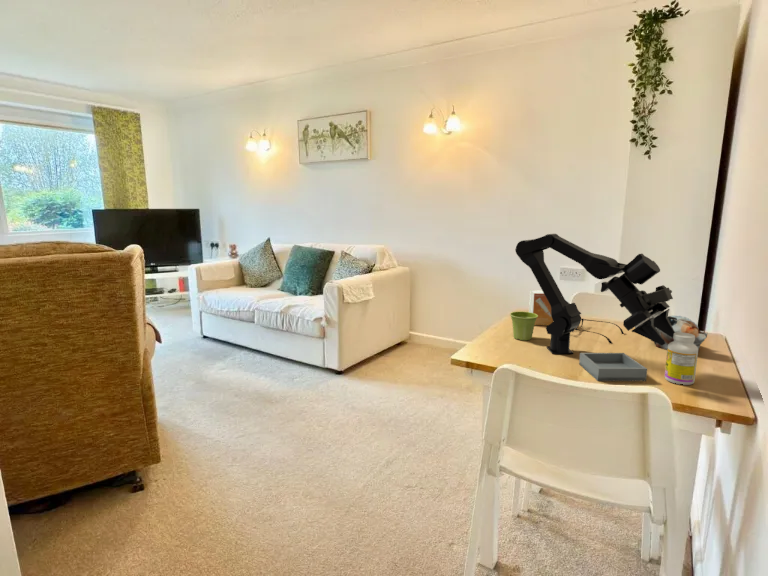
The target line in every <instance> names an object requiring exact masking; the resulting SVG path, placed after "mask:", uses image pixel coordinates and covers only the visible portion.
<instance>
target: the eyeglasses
mask: <svg viewBox="0 0 768 576" xmlns="http://www.w3.org/2000/svg"><path fill="white" fill-rule="evenodd" d="M584 321H590V322H600V323H604V321H602V320H594V319H593V320H592V319H585V318H581V326H580V328H581V327H582V328H583V326H584V325H583V323H584ZM605 323H607V324H612V325H615V326H616V327H618V329H619V330H620V333H621V335H622V334H624V335H625V333H624V330H623V329H622V328H621V327H620V326H619V325H618V324H616V323H614V322H610V321H609V322H608V321H605ZM574 331H581V332H588V333H591V331H590V330H583V329H579V328H578V326H577V327H576V328H575V330H574ZM592 333H593V334H598V335H601V336H602V337H604V338H605V339H606V340H607V341H608V344H613V342H612V340H611V339H610V338H609V337H607V336H606V335H604V334H601V333H599V332H595V331H592Z"/></svg>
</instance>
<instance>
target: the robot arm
mask: <svg viewBox="0 0 768 576" xmlns="http://www.w3.org/2000/svg"><path fill="white" fill-rule="evenodd" d="M548 249H552V250H553V251H555V252H558V253H559V254H561V255H563V256H565V257H566V258H568V259H570V260H572V261H573V262H576V263H577V264H579V265H581V266H582V267H583V268H584V270H585V271H586V272H588V273H589V274H590V275H591V276H592V277H594V278H595V279H597V280H605V279H609V280H608V281H603V282H601V288H600V292H601V293H603V292H607V291H610V292H611V293H612V294H613V296H614V297H615V299H617V300H618V301H619V302H620V304H619V307H621V308H624V309H626V310H627V312H629V314H631V315H630V316H628V317H626V318H625V319H624V320H623V322H622V323H623V327H624V328H625V329H626V330H627V331H631V332H632V333H635V334H638V335H639V336H641V337H644V338H645V339H648V340H650V341H651V340H652V341H651V342H653V341H654V342H656V343H658V344H660V345H664V344H665V341H664V340H663V338H662V336H661V335H660V334H659V332H658V331H657V329H656V328H658V329H659V330H661V331H662V332H664V333H665V334H667V335H669V336H670V337H672V338H673V335H674V333H675V331H674V329H673V327H672V325H671V323H670V321H669V319H668V316H669V313H670V307H671V306H670V304H668V303H667V302H669V301H670V300H673V299H674V298H673V295H672V293H673V290H671V289H670V288H669V287H666V286H665V285H664V284H663V285H659V286H657V287H655V290H654V291H651V292H649V293H647V291H645V290H640V289H639V288H638V287H637V286H636V285H637V284H639V285H644V284H645V283H646V282H648V281H649V280H650V279H652V278H653V277H655V276H656V275H658V274H659V273H661V269H660V267H659V265H658V264H657V262H655V261H654V260H652V259H650V258H649V257H648V256H645V255H644V253H638V254H637V255H635V257H634V258H633V259H631V261H629V262H628V263H627V264H625V263H621V262H618V260H616V259H615V258H614V257H613V258H612V257H610V256H607V255H602V254H597V253H593V252H591V251H589V250H587V249H585V248H583V247H581V246H579V245H577V244H575V243H573V242H572V241H569V240H567V239H565V238H563V237H562V236H559V235H558V234H557V233H550V234H549V233H548V234H545V235H544V236H540V237H537V238H533V239H527V240H526V239H525V240H520V241H518V243H517V244H516V247H515V254H516V255H517V257H518V258H519V259H520V260H521V262H522V263H523V264H524V265H526V266H527V267H528V268H529V269H530V271H531V272H532V274H533V276H534V278H535V279H536V282H537V283H538V285H539V287H540V290H542V291H543V293H544V295H545V296H546V298H547V300H548V302H549V304H550V306H551V316H552V319H553V322H552V323H551V324H550V325H548V326H547V325H546V326H545V330H546V333H547V335H550V345H547V346H546V348H547V350H548V351H549V352H550V353H551V354H552V355H553V354H554V355H574V352H573V350H571V349H570V344H571V333H574V332H573V331H576V330H575V329H576V327H577V328H578V327H579V325H580V324H581V323H582V320H581V319H582V317H581V315H582V312H581V311H580V310H579V308H578V307H577V304H576V303H575V302H571V303H570V302H569V301H567V300H566V298H565V297H564V295H563V293H562V291H561V290H560V288H559V286H558V284H557V283H556V280H555V278H554V277H553V275H552V273H551V271H550V269H549V268H548V266H547V264H546V262H545V255H544V254H545V253H544V252H545V250H548ZM619 274H621V275H620V276H616V275H619ZM610 278H611V279H610ZM655 327H656V328H655ZM654 342H653V343H654Z"/></svg>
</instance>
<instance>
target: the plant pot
mask: <svg viewBox="0 0 768 576" xmlns="http://www.w3.org/2000/svg"><path fill="white" fill-rule="evenodd" d="M509 316H510V318H511V323H512V333H513V339H516V340H520V341H529V340H532V338H533V333H534V328H535V325H534V324H535V321H536V318H537V317H538V315H537V314H535V313H531V312H529V311H521V310H519V311H512V312H510V313H509Z"/></svg>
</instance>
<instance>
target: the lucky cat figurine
mask: <svg viewBox="0 0 768 576" xmlns="http://www.w3.org/2000/svg"><path fill="white" fill-rule="evenodd" d="M668 319H669V321H670V323H671V325H672V327H673V329H674V331H675V333H676V332H682V333H689V334H693V335H695V341H694V343H693V344H694V345H696V346H697V347H698V350H700V348H701V344H702V343H703V342H704V341H705V340H706V339H707V338H708V332H705V331H704V330H700V329H699V326H698V325H697V323H695V322H694V321H693V320H691V319H690V318H688V317H686V316H681V315H668ZM655 328H656V327H655ZM656 329H657V331H658V332H659V334H660V335H661V336H662V338H663V340H664V341H665V344H664V345H660V344H658V343H656V342H654V341H652V340H650V341H651V342H653V344H654V345H655V347H657V348H660V349H663V350H666V351H667V349H668V344H669V343H671V342H673V341H674V338H672V337H670V336H669V335H667V334H665V333H664V332H662V331H661V330H659V329H658V328H656Z"/></svg>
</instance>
